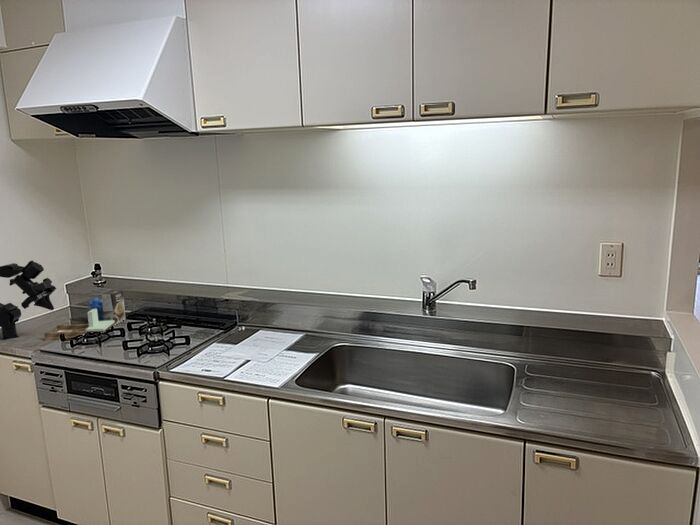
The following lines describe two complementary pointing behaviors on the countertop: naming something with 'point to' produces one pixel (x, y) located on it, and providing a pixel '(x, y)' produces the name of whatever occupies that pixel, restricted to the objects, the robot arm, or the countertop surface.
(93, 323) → the mint green l-shaped block
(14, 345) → the countertop surface
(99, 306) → the grapes
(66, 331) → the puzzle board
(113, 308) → the coffee box
